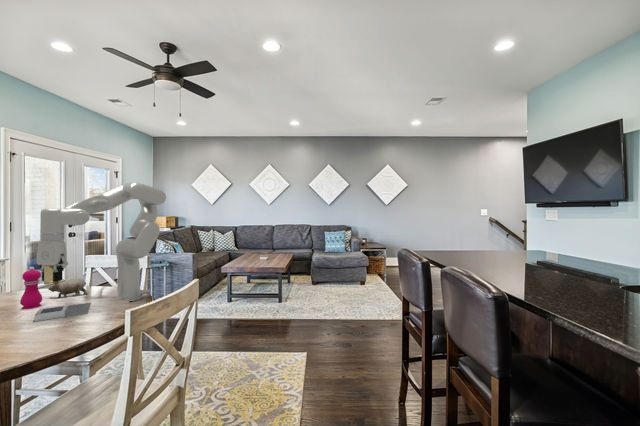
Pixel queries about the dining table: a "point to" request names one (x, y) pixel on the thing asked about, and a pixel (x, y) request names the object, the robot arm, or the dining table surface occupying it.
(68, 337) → the dining table surface
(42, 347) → the dining table surface
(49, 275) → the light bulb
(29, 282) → the pepper mill
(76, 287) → the rhinoceros figurine
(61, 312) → the plate
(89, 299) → the dining table surface
